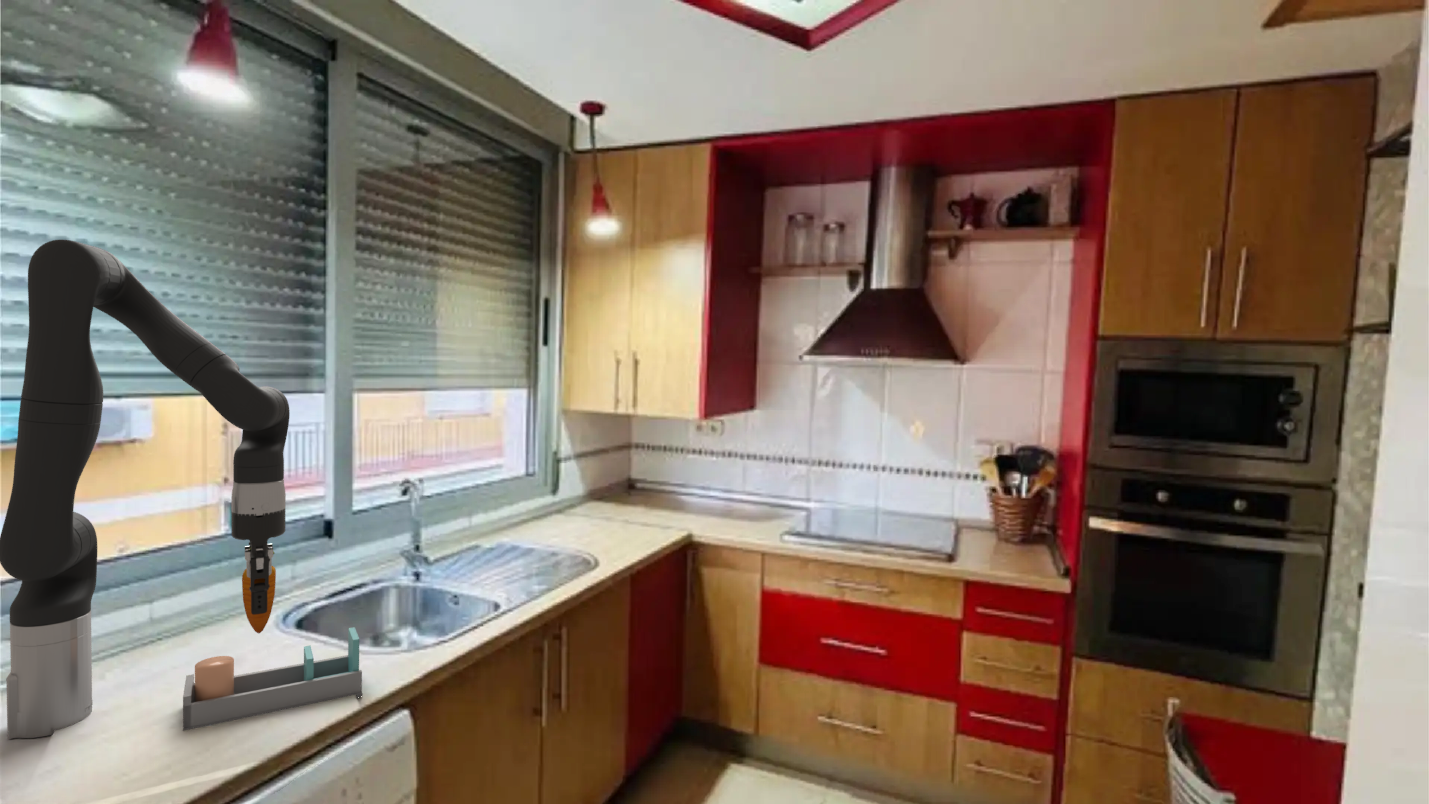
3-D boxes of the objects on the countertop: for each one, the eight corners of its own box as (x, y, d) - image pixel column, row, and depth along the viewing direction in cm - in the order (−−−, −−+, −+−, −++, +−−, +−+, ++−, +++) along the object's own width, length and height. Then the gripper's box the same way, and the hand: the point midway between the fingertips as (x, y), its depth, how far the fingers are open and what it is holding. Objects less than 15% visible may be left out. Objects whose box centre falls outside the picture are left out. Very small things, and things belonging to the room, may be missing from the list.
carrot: (270, 625, 121) (270, 539, 120) (281, 633, 118) (281, 545, 117) (236, 633, 117) (236, 544, 116) (247, 641, 114) (247, 550, 113)
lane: (182, 735, 108) (182, 699, 108) (186, 707, 116) (186, 673, 116) (362, 697, 122) (362, 664, 122) (354, 675, 130) (354, 644, 130)
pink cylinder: (194, 721, 111) (193, 672, 110) (195, 707, 115) (195, 660, 115) (233, 713, 114) (233, 665, 113) (234, 699, 118) (234, 653, 118)
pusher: (306, 699, 119) (306, 648, 119) (303, 684, 124) (304, 635, 124) (358, 688, 124) (359, 639, 123) (354, 674, 129) (354, 627, 128)
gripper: (231, 501, 120) (231, 599, 121) (231, 518, 108) (231, 626, 109) (283, 497, 124) (282, 592, 125) (288, 513, 112) (287, 618, 113)
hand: (258, 607), depth 117 cm, fingers closed on carrot, 4 cm apart
